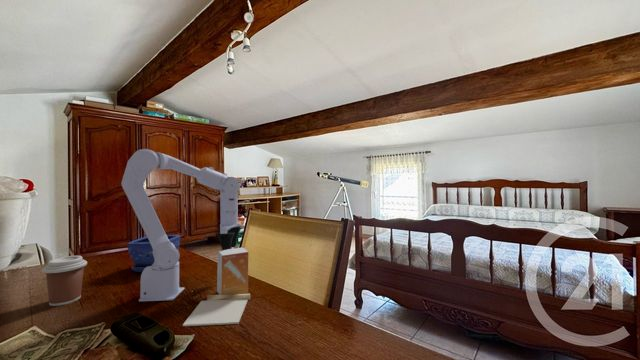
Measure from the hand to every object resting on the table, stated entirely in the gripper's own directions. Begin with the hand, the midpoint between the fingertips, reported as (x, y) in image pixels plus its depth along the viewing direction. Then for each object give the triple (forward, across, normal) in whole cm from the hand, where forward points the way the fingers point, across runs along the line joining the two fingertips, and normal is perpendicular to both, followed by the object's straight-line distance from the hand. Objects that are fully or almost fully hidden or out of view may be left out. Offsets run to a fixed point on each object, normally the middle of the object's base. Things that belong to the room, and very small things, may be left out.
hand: (229, 249), depth 88 cm
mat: (+10, -22, -3) cm, 24 cm away
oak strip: (+11, -15, -4) cm, 19 cm away
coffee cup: (+10, -11, +43) cm, 46 cm away
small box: (+11, -10, -3) cm, 15 cm away
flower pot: (+11, +15, +32) cm, 37 cm away
